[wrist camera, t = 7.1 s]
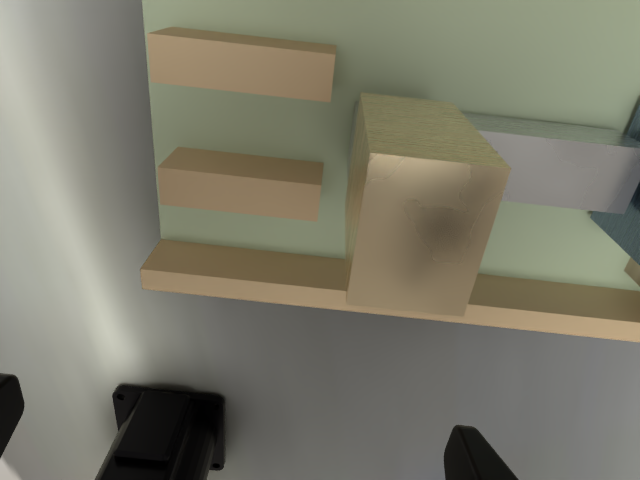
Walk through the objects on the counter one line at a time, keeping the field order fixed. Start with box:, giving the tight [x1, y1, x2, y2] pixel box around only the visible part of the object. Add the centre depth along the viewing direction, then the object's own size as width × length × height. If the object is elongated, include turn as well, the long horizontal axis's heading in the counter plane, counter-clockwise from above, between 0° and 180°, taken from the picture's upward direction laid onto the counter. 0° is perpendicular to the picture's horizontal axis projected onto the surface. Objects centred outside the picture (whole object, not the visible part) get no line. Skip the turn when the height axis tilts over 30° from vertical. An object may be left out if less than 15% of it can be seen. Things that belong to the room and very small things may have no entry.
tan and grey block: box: [345, 92, 640, 317], centre depth 14 cm, size 5×12×8 cm, turn 84°
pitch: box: [140, 0, 640, 342], centre depth 18 cm, size 14×27×4 cm, turn 84°
